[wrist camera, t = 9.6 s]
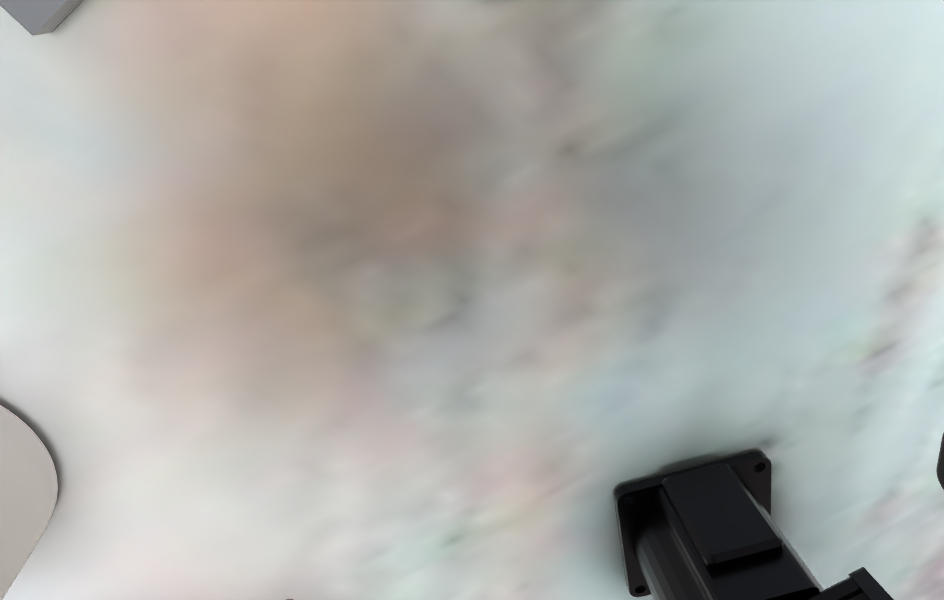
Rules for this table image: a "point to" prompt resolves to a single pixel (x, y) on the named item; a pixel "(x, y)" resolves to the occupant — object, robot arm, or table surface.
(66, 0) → the fuse panel
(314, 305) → the table surface
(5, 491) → the pill bottle
